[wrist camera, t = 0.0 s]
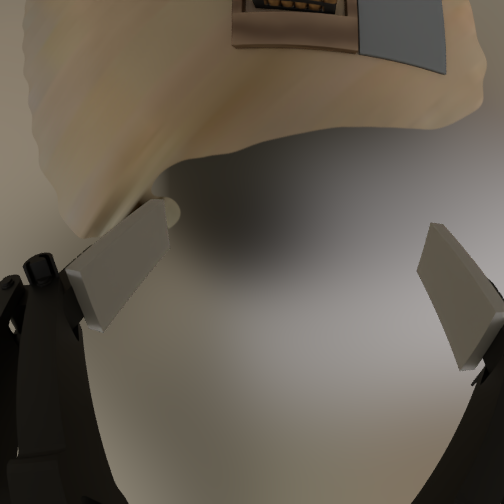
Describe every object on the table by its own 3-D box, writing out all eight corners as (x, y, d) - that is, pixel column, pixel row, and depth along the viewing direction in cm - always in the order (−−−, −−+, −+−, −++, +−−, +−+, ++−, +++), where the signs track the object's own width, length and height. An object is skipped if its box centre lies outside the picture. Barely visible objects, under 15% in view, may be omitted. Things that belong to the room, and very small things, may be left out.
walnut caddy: (237, -30, 25) (233, -37, 22) (351, -27, 22) (353, -33, 20) (236, 48, 31) (231, 45, 29) (354, 53, 29) (358, 50, 27)
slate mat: (354, -26, 22) (355, -29, 21) (437, -4, 20) (440, -6, 19) (358, 54, 29) (359, 53, 28) (443, 74, 27) (446, 74, 26)
